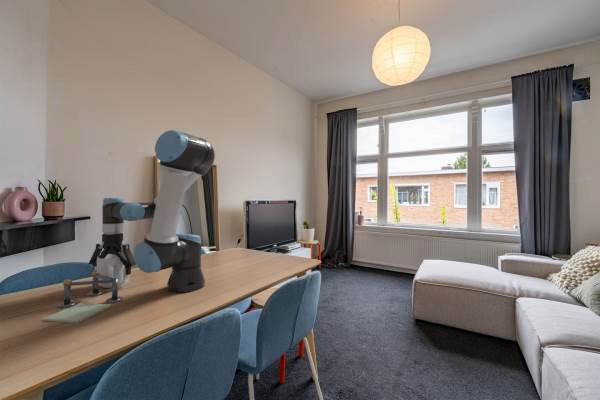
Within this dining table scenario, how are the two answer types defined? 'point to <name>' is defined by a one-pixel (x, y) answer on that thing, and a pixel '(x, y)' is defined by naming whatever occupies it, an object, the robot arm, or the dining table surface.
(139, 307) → the dining table surface
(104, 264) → the mug
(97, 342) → the dining table surface
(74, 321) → the pad
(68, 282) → the small metal rack
